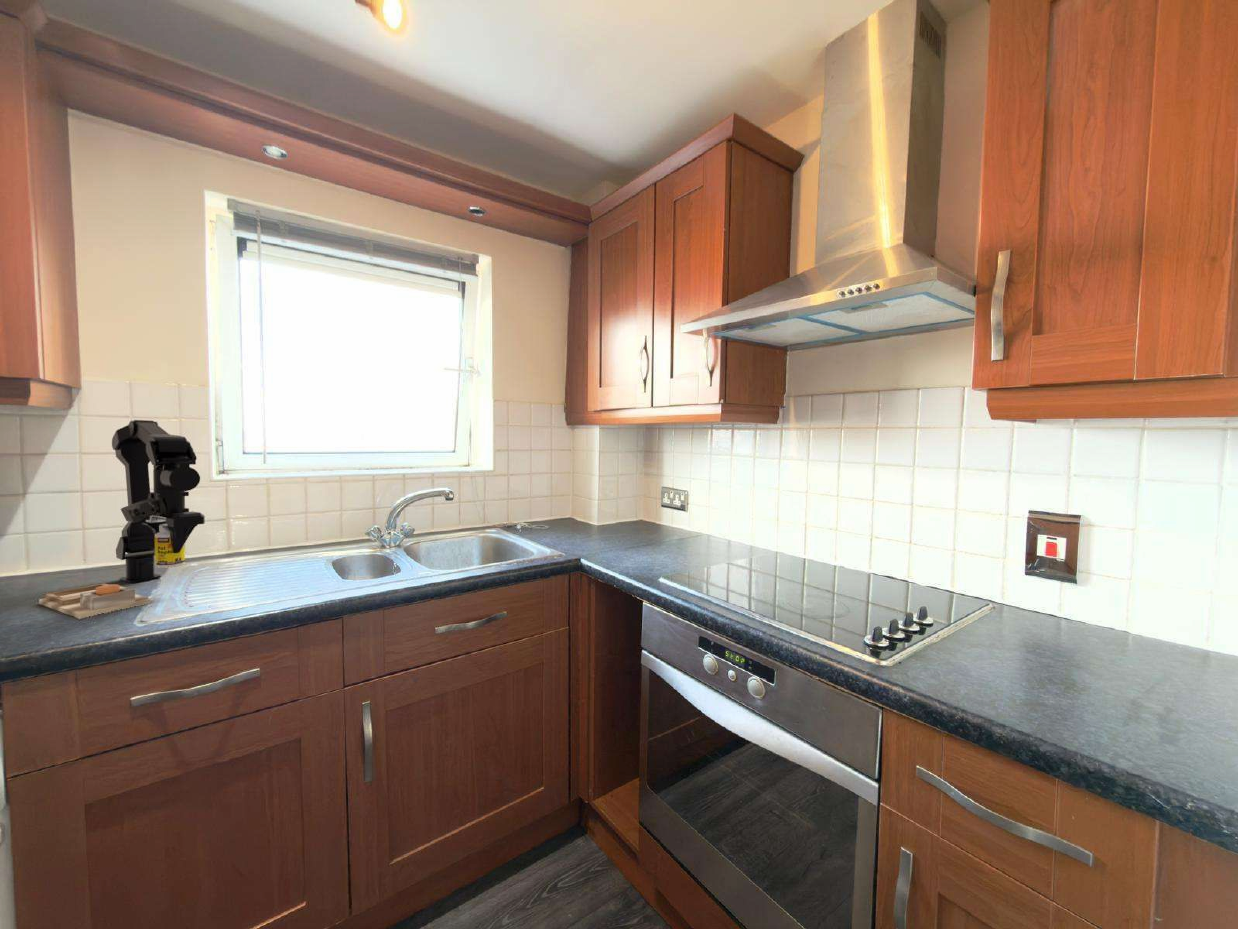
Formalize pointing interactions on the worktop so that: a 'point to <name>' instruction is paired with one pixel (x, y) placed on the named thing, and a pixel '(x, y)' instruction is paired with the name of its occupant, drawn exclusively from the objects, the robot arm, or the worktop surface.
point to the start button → (107, 589)
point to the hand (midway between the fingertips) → (170, 551)
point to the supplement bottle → (166, 550)
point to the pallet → (91, 601)
